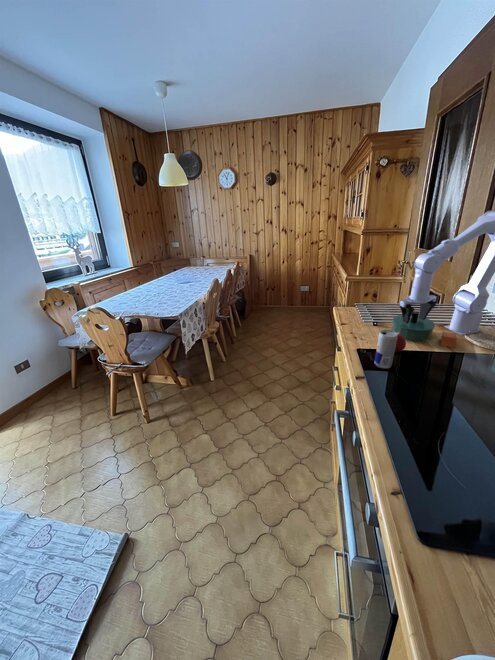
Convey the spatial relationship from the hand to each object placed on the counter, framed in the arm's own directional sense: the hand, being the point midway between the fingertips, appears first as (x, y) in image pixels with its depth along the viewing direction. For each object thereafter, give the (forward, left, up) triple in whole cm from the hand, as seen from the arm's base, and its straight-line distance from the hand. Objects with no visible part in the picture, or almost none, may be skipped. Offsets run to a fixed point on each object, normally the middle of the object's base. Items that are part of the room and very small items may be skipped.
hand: (413, 320), depth 110 cm
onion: (+15, +9, -6) cm, 19 cm away
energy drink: (+24, +14, -6) cm, 28 cm away
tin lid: (0, 0, -1) cm, 1 cm away
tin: (0, 0, -6) cm, 6 cm away
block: (-6, +11, -6) cm, 14 cm away
